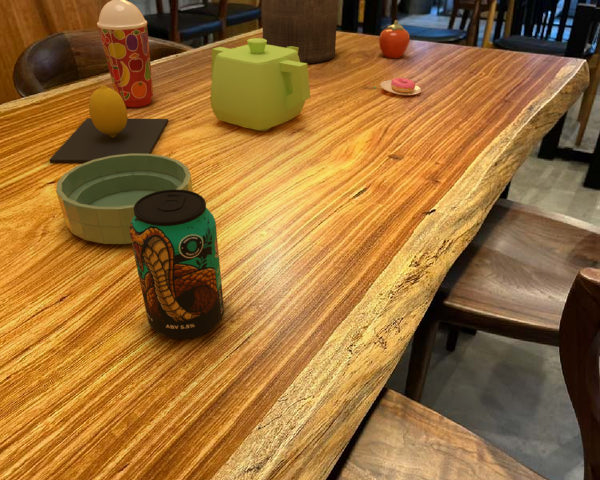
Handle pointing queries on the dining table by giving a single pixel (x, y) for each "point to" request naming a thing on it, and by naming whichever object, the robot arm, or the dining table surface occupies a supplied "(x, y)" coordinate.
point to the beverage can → (177, 263)
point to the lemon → (107, 111)
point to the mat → (110, 141)
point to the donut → (400, 86)
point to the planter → (302, 27)
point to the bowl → (115, 193)
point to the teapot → (258, 84)
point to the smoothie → (127, 51)
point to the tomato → (394, 41)
